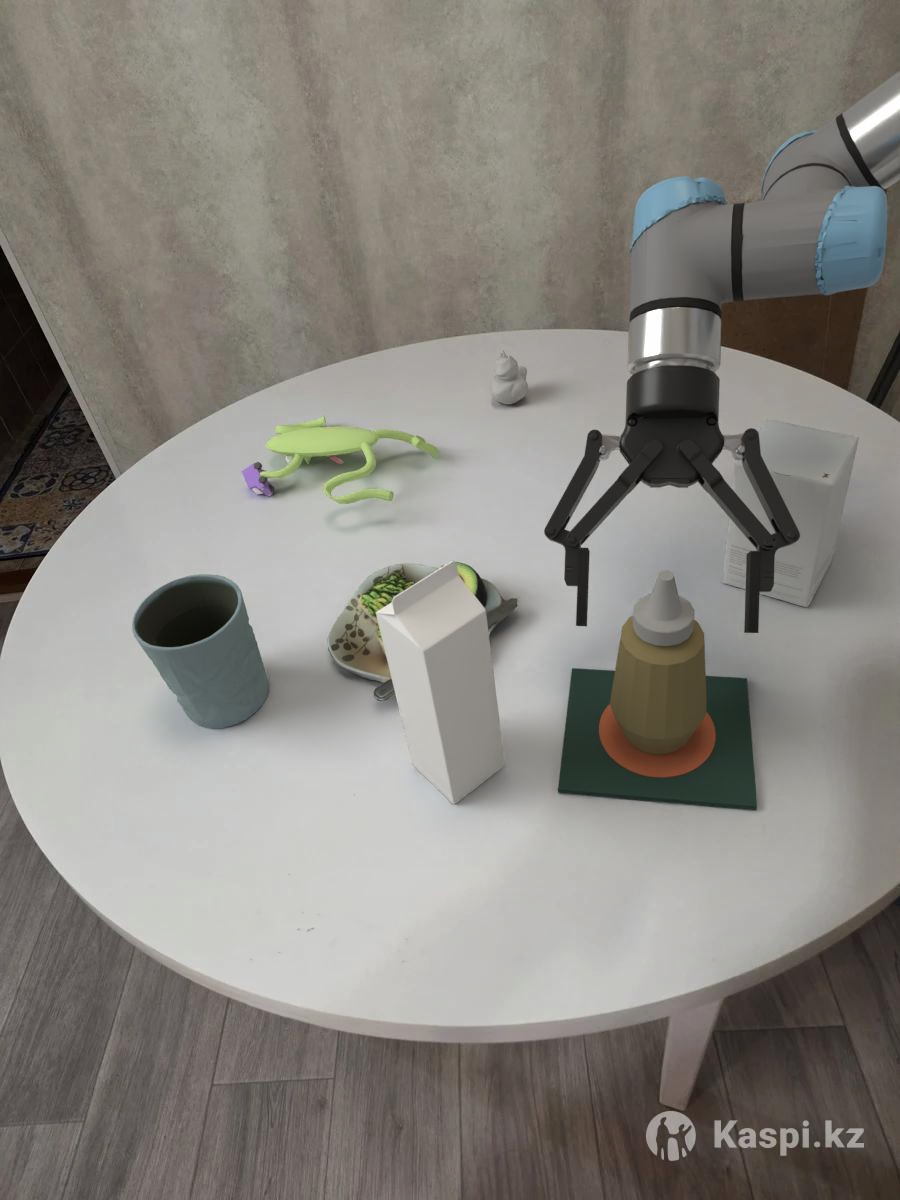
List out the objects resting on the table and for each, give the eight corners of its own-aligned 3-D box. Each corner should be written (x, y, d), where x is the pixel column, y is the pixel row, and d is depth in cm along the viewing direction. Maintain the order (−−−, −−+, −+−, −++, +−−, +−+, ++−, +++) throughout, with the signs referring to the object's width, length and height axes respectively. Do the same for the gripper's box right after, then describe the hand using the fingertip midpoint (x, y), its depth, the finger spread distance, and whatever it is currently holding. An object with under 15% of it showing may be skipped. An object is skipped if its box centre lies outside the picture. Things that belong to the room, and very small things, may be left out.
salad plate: (458, 732, 79) (452, 699, 76) (294, 687, 86) (283, 655, 83) (530, 596, 92) (527, 563, 89) (382, 566, 99) (375, 534, 96)
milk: (412, 765, 77) (364, 580, 63) (463, 727, 80) (429, 540, 65) (455, 806, 74) (415, 619, 59) (507, 766, 76) (482, 576, 61)
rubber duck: (482, 404, 123) (476, 352, 118) (511, 384, 126) (507, 332, 121) (511, 414, 120) (507, 361, 115) (540, 393, 123) (538, 341, 118)
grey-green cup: (289, 705, 84) (257, 616, 76) (191, 753, 81) (146, 666, 73) (254, 645, 91) (221, 558, 83) (162, 687, 88) (119, 601, 80)
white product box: (835, 558, 91) (864, 435, 81) (807, 610, 86) (834, 485, 76) (750, 535, 95) (767, 415, 85) (718, 583, 90) (733, 462, 80)
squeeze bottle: (713, 707, 77) (733, 552, 65) (691, 778, 72) (709, 622, 60) (624, 686, 80) (628, 533, 68) (597, 752, 75) (596, 599, 63)
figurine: (376, 541, 102) (368, 503, 99) (216, 489, 115) (203, 454, 111) (459, 460, 113) (454, 423, 109) (304, 421, 125) (295, 386, 122)
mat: (746, 682, 80) (747, 676, 79) (756, 810, 70) (757, 805, 69) (572, 672, 83) (572, 667, 83) (558, 793, 73) (557, 788, 73)
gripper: (823, 384, 73) (816, 635, 72) (529, 390, 78) (520, 624, 78) (843, 356, 66) (836, 635, 65) (518, 364, 71) (508, 622, 70)
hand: (664, 630), depth 71 cm, fingers open, 13 cm apart
